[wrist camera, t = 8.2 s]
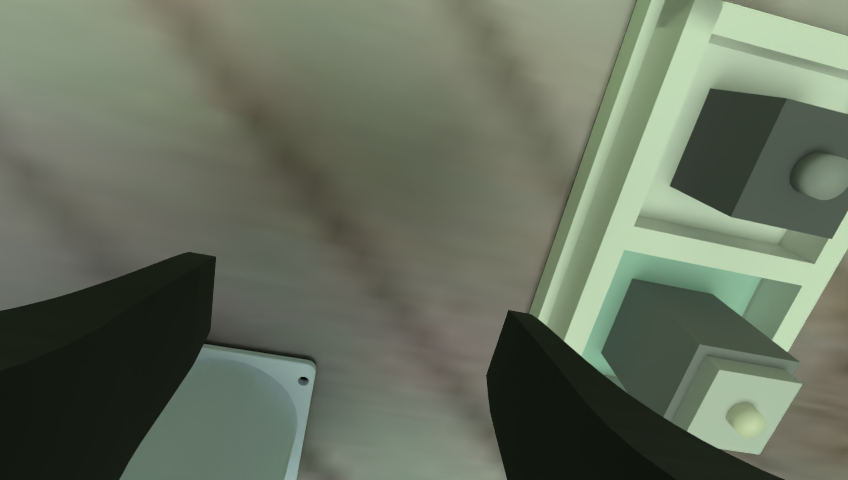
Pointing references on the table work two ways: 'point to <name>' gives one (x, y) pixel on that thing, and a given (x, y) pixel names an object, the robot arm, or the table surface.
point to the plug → (768, 162)
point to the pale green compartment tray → (656, 165)
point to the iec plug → (700, 365)
